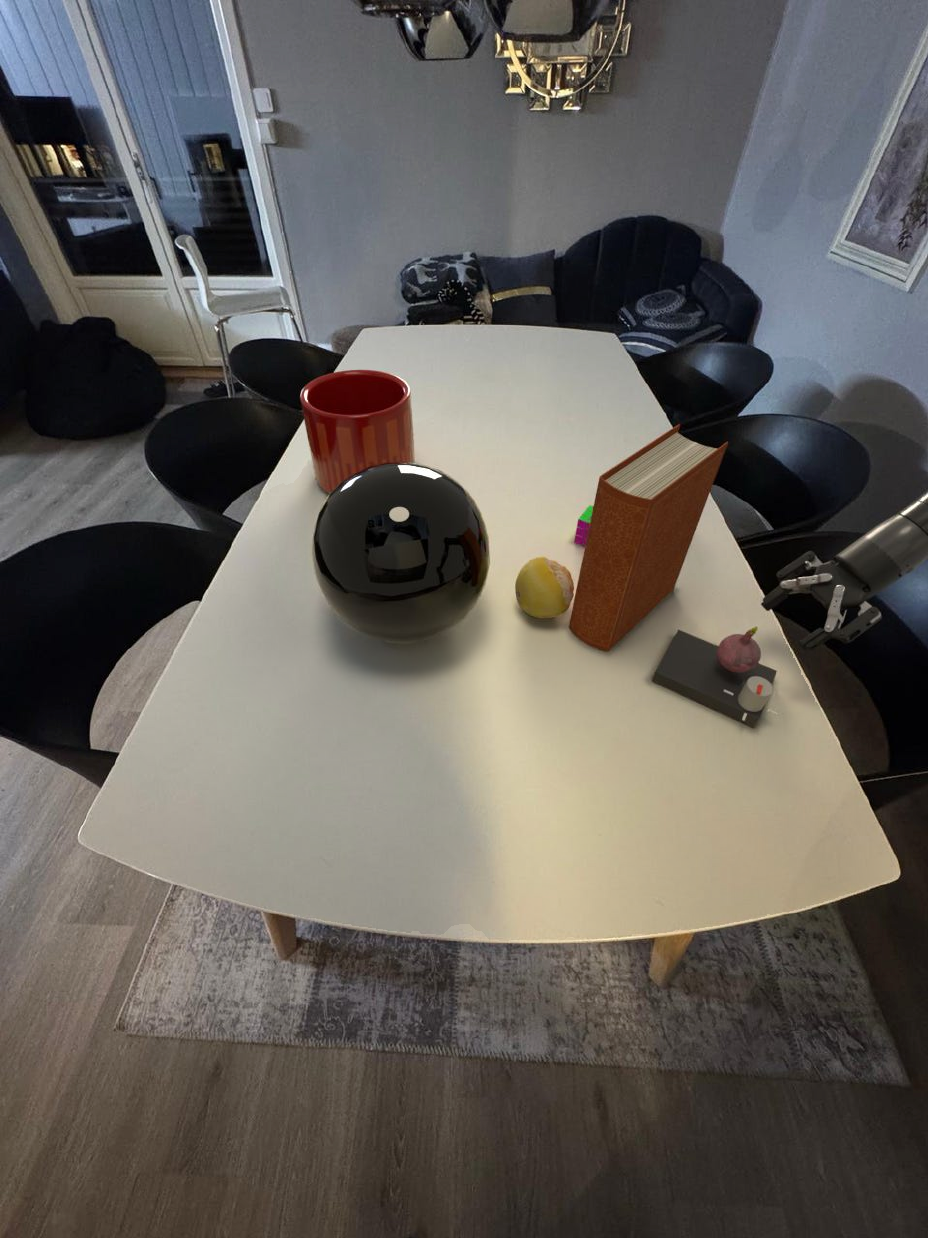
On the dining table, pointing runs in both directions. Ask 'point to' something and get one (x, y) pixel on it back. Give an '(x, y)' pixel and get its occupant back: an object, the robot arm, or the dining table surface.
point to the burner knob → (755, 694)
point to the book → (640, 535)
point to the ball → (400, 552)
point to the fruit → (544, 588)
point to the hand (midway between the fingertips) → (781, 627)
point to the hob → (707, 677)
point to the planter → (356, 423)
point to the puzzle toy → (583, 526)
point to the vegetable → (739, 652)
